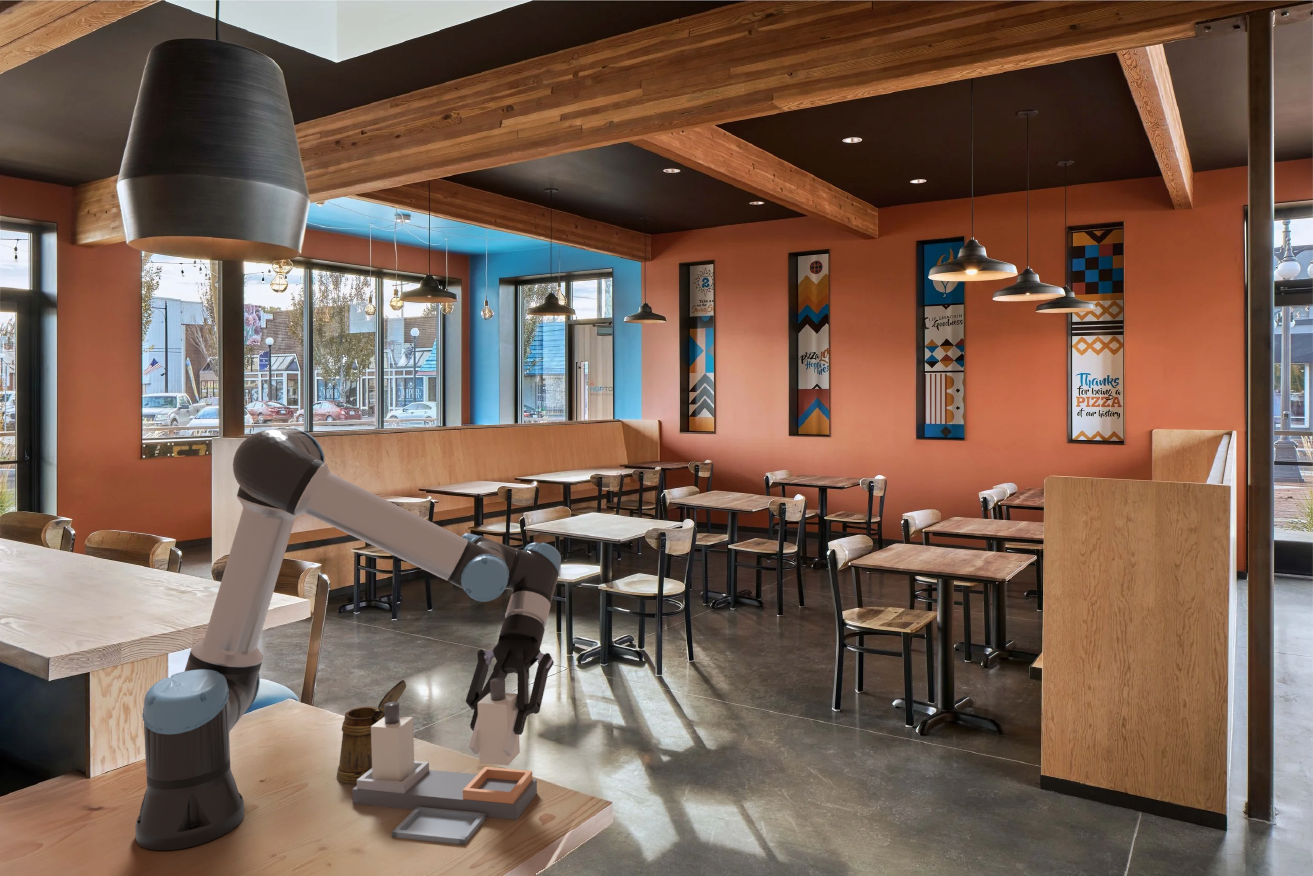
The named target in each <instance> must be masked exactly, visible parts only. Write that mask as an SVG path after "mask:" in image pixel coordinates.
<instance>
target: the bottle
mask: <svg viewBox="0 0 1313 876" xmlns="http://www.w3.org/2000/svg"><path fill="white" fill-rule="evenodd" d="M516 706H517V707H518V693H509V692H506V678H505V679H504V678H494V679H492V680H490V693H489V694H487V695H486V696H485V697H484V698H483V699H482V700H480V701H479V702H478V730H479V754H478V757H479V758H478V762H479V764H484V765H496V766H499V765H500V766H510V764H511V763H512V762H513V761H514V760H515V759H516V757H517V756H519V754H520V753H521V752H520V751H521V750H520V749H521V748H520V735H517V737H516V741H515V745H514V749H513V753H512V756H507V755H506V754H505V753H504V751H503V750H502V748H503V744H504V741H505V737H506V733H507V729H508V726H509V722H510V718H511V714H512V710H516V711H517V712H518V709H517V707H516Z"/></svg>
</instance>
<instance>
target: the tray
mask: <svg viewBox="0 0 1313 876" xmlns="http://www.w3.org/2000/svg"><path fill="white" fill-rule="evenodd" d="M486 820H487V817H486V813H477V812H467V811H457V810H447V809H437V808H427V807H416V808H415V809H414V810H412V811H411V812H410V813H409V814H408V815H407V816H406V817H405V818H404V819H403V820H402V821H401V822H400V823H399V824H398V825H397V826H396V827H395V828H394V829H393V830H392V831H391V838H397V839H407V840H416V841H425V842H434V843H443V844H445V843H446V844H452V845H462V846H465V845H466V844H467V843H468V842H469V841H470V840H471V838H472V836H474V834H475V833H476V832H477V830H478V829H480V827H481V826H482V824H483V823H485V821H486Z"/></svg>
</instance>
